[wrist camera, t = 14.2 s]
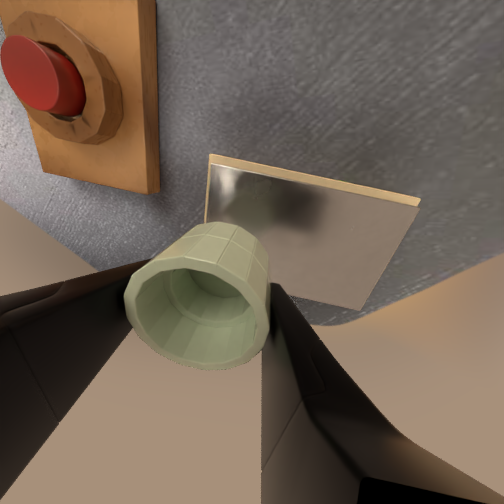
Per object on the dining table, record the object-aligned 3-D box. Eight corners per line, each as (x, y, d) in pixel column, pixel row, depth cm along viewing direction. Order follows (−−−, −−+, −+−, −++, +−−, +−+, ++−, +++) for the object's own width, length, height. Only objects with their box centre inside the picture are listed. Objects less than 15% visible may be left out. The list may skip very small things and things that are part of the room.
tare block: (160, 191, 17) (134, 198, 14) (65, 171, 17) (19, 173, 14) (155, -1, 12) (113, -60, 9) (20, -28, 12) (-69, -96, 9)
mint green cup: (260, 309, 11) (252, 382, 7) (178, 290, 11) (130, 353, 7) (281, 231, 9) (286, 279, 5) (180, 208, 9) (114, 240, 5)
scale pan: (357, 306, 17) (360, 311, 16) (203, 271, 17) (201, 275, 16) (415, 205, 13) (421, 207, 12) (213, 162, 13) (210, 162, 12)
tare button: (91, 121, 13) (64, 115, 11) (45, 111, 13) (12, 104, 11) (81, 57, 11) (49, 40, 10) (29, 47, 11) (-11, 28, 10)
